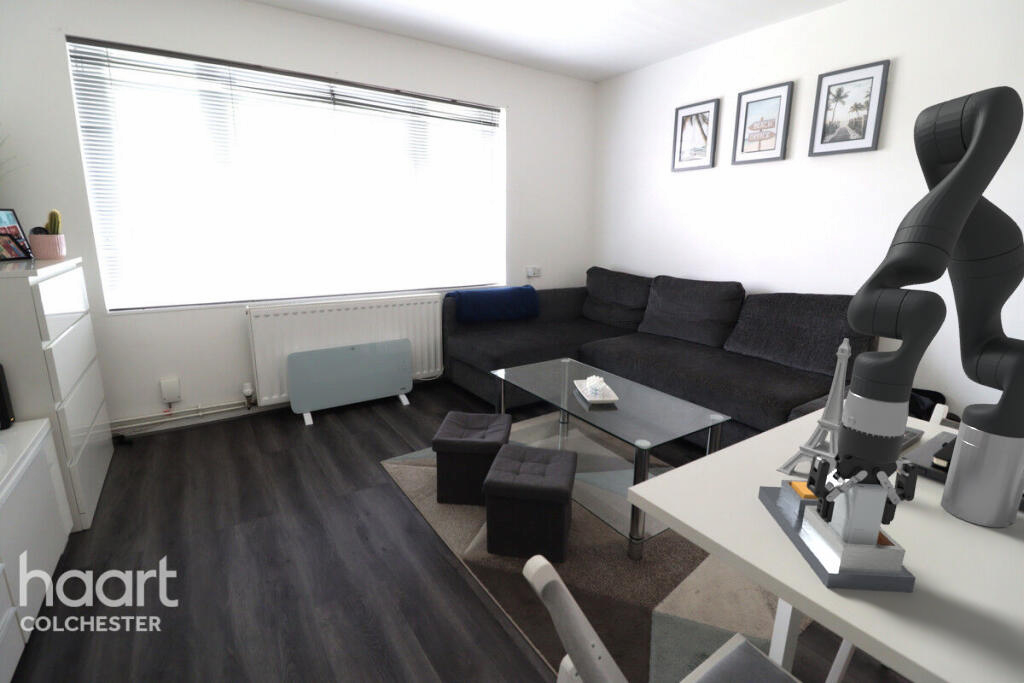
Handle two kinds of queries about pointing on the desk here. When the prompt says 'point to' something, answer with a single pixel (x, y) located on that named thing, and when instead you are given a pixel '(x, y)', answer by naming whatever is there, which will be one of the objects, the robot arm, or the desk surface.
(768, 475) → the desk surface
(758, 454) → the desk surface
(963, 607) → the desk surface
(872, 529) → the skincare box
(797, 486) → the button
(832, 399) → the eiffel tower
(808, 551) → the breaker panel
